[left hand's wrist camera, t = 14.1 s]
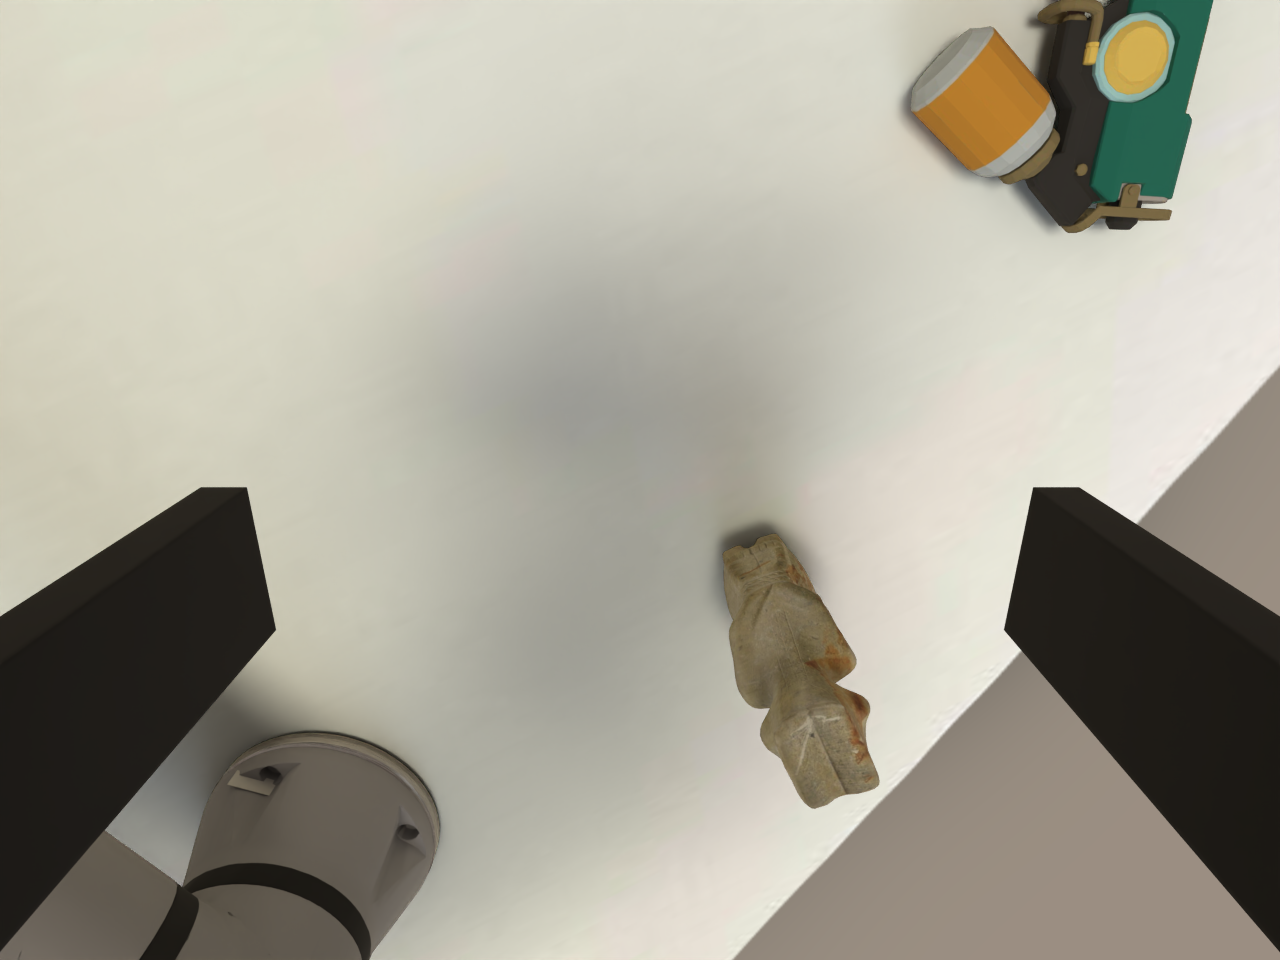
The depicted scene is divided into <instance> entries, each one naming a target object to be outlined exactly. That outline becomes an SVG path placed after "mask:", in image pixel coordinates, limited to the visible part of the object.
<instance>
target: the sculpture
mask: <svg viewBox="0 0 1280 960" xmlns="http://www.w3.org/2000/svg"><path fill="white" fill-rule="evenodd" d="M723 561H724V589H725V595H726V600H727V604H728V608H729V611H730V614H731V616H732V619H733V622H732V624H731V627H730V629H729V640H730V646H731V651H732V656H733V661H734V669H735V678H736V683H737V687H738V690H739V692H740V694H741V695H742V697H743V698H744V700H745V701H746V702H747V703H748V704H749V705H750V706H752V707H754V708H758V709H763V708H770V709H769V712H768V713H767V715H766V717H765V719H764V721H763V723H762V725H761V729H760V736H761V739H762V742H763V743H764V745H765V746H766V748H767V749H768V750H769V751H771V752H772V753H774V754H775V755H777V756H778V757H779V758H781V760H782V762H783V764H784V767H785V769H786V771H787V772H788V774H789V776H790V778H791V780H792V782H793V784H794V786H795V788H796V790H797V792H798V794H799V796H800V797H801V799H802V800H803V801H804V803H805V804H807V805H808V806H809V807H811V808H814V809H815V808H818V807H822V806H825V805H827V804H829V803H830V802H832V801H833V800H834V799H836V798H838V797H840V796H843V795H848V794H858V793H862V792H867V791H870V790H872V789H875V788H876V787H877V786H878V785H879V777H878V773H877V771H876V768H875V766H874V764H873V761H872V759H871V756H870V754H869V752H868V748H867V743H866V721H867V719H868V716H869V713H870V705H869V702H868V701H867V700H866V699H865V698H864V697H863V696H861V695H859V694H857V693H854V692H852V691H849V690H847V689H844V688H842V687H841V686H839V685H837V684H835V683H836V682H838V681H839V680H841V679H842V678H843V677H845V676H846V675H848V674H849V673H850V672H851V671H852V670H853V669H854V668H855V666H856V657H855V655H854V653H853V651H852V650H851V648H850V646H849V645H848V643H847V642H846V640H845V638H844V637H843V635H842V633H841V632H840V630H839V629H838V627H837V626H836V624H835V622H834V620H833V618H832V616H831V615H830V613H829V611H828V610H827V608H826V607H825V605H824V604H823V602H822V600H821V598H820V596H819V595H818V594H816V593H815V590H814V588H813V585H812V583H811V581H810V579H809V577H808V575H807V573H806V572H805V570H804V569H803V567H802V565H801V564H800V563H799V561H798V560H797V558H796V557H795V556H794V555H793V553H792V552H791V551H790V550H789V549H788V548H787V547H786V546H785V544H784V543H783V541H782V540H781V539H780V537H779V536H778V535H777V534H770V535H766V536H763V537H760V538H758V539H757V541H756V543H755V544H754V545H753V546H752V547H749V548H744V547H742V546H740V545H739V546H735V547H733V548H731V549H729V550H727V551H725V552H724V553H723Z"/></svg>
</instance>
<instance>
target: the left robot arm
mask: <svg viewBox="0 0 1280 960" xmlns="http://www.w3.org/2000/svg"><path fill="white" fill-rule="evenodd" d="M275 630H276V628H275V623H274V618H273V613H272V608H271V603H270V598H269V593H268V589H267V584H266V579H265V574H264V569H263V564H262V559H261V554H260V550H259V545H258V540H257V535H256V530H255V525H254V520H253V515H252V511H251V506H250V501H249V496H248V491H247V487H201V488H199V489H198V490H196V491H195V492H193V493H191V494H190V495H188V496H187V497H185V498H184V499H182V500H181V501H179V502H177V503H176V504H174V505H173V506H171V507H170V508H168V509H167V510H165V511H163V512H162V513H160V514H159V515H157V516H156V517H154V518H153V519H151V520H149V521H148V522H146V523H145V524H143V525H142V526H140V527H139V528H137V529H135V530H134V531H132V532H131V533H129V534H128V535H126V536H125V537H123V538H121V539H120V540H118V541H117V542H115V543H114V544H112V545H111V546H109V547H107V548H106V549H104V550H103V551H101V552H100V553H98V554H97V555H95V556H94V557H92V558H90V559H89V560H87V561H86V562H84V563H83V564H81V565H80V566H78V567H76V568H75V569H73V570H72V571H70V572H69V573H67V574H66V575H64V576H62V577H61V578H59V579H58V580H56V581H55V582H53V583H52V584H50V585H48V586H47V587H45V588H44V589H42V590H41V591H39V592H38V593H36V594H34V595H33V596H31V597H30V598H28V599H27V600H25V601H24V602H22V603H20V604H19V605H17V606H16V607H14V608H13V609H11V610H10V611H8V612H6V613H5V614H3V615H2V616H0V960H369V959H370V957H371V954H372V952H373V951H374V950H375V948H376V947H377V946H378V944H379V943H380V942H381V940H382V939H383V938H384V936H385V935H386V934H387V932H388V931H389V930H390V928H391V927H392V926H393V925H394V923H395V922H396V921H397V919H398V918H399V917H400V915H401V914H402V913H403V911H404V910H405V909H406V907H407V906H408V905H409V903H410V902H411V901H412V899H413V898H414V897H415V895H416V894H417V893H418V891H419V890H420V888H421V886H422V884H423V883H424V881H425V879H426V876H427V874H428V873H429V871H430V868H431V865H432V863H433V860H434V856H435V853H436V850H437V846H438V842H439V834H440V828H439V819H438V814H437V811H436V807H435V805H434V802H433V800H432V798H431V796H430V794H429V793H428V791H427V790H426V788H425V787H424V785H423V784H422V782H421V781H420V780H419V779H418V778H417V777H416V775H414V774H413V773H412V772H411V771H410V770H409V769H408V768H407V767H406V766H405V765H404V764H402V763H401V762H400V761H398V760H397V759H395V758H394V757H393V756H391V755H389V754H388V753H386V752H384V751H382V750H380V749H378V748H376V747H374V746H372V745H370V744H367V743H365V742H362V741H359V740H356V739H352V738H349V737H344V736H340V735H334V734H327V733H297V734H289V735H284V736H279V737H276V738H272V739H269V740H267V741H264V742H262V743H260V744H258V745H256V746H254V747H252V748H250V749H249V750H247V751H246V752H244V753H243V754H242V755H241V756H239V757H238V758H237V759H236V760H235V761H234V762H233V763H232V764H231V766H230V767H229V768H228V770H227V771H226V772H225V774H224V775H223V776H222V778H221V779H220V781H219V782H218V783H217V785H216V786H215V788H214V790H213V792H212V794H211V796H210V798H209V800H208V802H207V804H206V806H205V809H204V811H203V815H202V818H201V822H200V826H199V829H198V833H197V836H196V840H195V844H194V847H193V851H192V854H191V858H190V862H189V865H188V869H187V872H186V876H185V880H184V883H183V886H182V887H181V886H180V885H179V884H177V883H176V882H175V881H174V880H173V879H172V878H170V877H169V876H167V875H166V874H165V873H163V872H162V871H160V870H159V869H158V868H156V867H155V866H153V865H152V864H151V863H149V862H148V861H146V860H145V859H144V858H142V857H141V856H139V855H138V854H137V853H135V852H134V851H133V850H131V849H130V848H128V847H127V846H126V845H124V844H123V843H121V842H120V841H119V840H117V839H116V838H114V837H113V836H112V835H110V834H109V833H107V832H106V831H105V829H106V828H107V827H108V825H109V824H110V823H111V822H112V821H113V820H114V818H115V817H116V816H117V815H118V814H119V813H120V811H121V810H122V809H123V808H124V807H125V806H126V804H127V803H128V802H129V801H130V800H131V799H132V797H133V796H134V795H135V794H136V793H137V792H138V790H139V789H140V788H141V787H142V786H143V785H144V783H145V782H146V781H147V780H148V779H149V778H150V776H151V775H152V774H153V773H154V772H155V771H156V769H157V768H158V767H159V766H160V765H161V764H162V762H163V761H164V760H165V759H166V758H167V757H168V755H169V754H170V753H171V752H172V751H173V750H174V748H175V747H176V746H177V745H178V744H179V743H180V741H181V740H182V739H183V738H184V737H185V736H186V734H187V733H188V732H189V731H190V730H191V729H192V727H193V726H194V725H195V724H196V723H197V722H198V720H199V719H200V718H201V717H202V716H203V715H204V713H205V712H206V711H207V710H208V709H209V708H210V706H211V705H212V704H213V703H214V702H215V701H216V699H217V698H218V697H219V696H220V695H221V694H222V692H223V691H224V690H225V689H226V688H227V687H228V685H229V684H230V683H231V682H232V681H233V680H234V678H235V677H236V676H237V675H238V674H239V673H240V671H241V670H242V669H243V668H244V667H245V665H246V664H247V663H248V662H249V661H250V660H251V658H252V657H253V656H254V655H255V654H256V653H257V651H258V650H259V649H260V648H261V647H262V646H263V644H264V643H265V642H266V641H267V640H268V639H269V637H270V636H271V635H272V634H273V633H274V632H275ZM1004 630H1005V632H1006V633H1007V634H1008V635H1009V636H1010V637H1011V639H1012V640H1013V641H1014V642H1015V643H1016V644H1017V646H1018V647H1019V648H1020V649H1021V650H1022V651H1023V653H1024V654H1025V655H1026V656H1027V657H1028V658H1029V660H1030V661H1031V662H1032V663H1033V664H1034V665H1035V667H1036V668H1037V669H1038V670H1039V671H1040V673H1041V674H1042V675H1043V676H1044V677H1045V678H1046V680H1047V681H1048V682H1049V683H1050V684H1051V685H1052V687H1053V688H1054V689H1055V690H1056V691H1057V692H1058V694H1059V695H1060V696H1061V697H1062V698H1063V699H1064V701H1065V702H1066V703H1067V704H1068V705H1069V706H1070V708H1071V709H1072V710H1073V711H1074V712H1075V713H1076V715H1077V716H1078V717H1079V718H1080V719H1081V720H1082V722H1083V723H1084V724H1085V725H1086V726H1087V727H1088V729H1089V730H1090V731H1091V732H1092V733H1093V734H1094V736H1095V737H1096V738H1097V739H1098V740H1099V741H1100V743H1101V744H1102V745H1103V746H1104V747H1105V748H1106V750H1107V751H1108V752H1109V753H1110V754H1111V755H1112V757H1113V758H1114V759H1115V760H1116V761H1117V762H1118V764H1119V765H1120V766H1121V767H1122V768H1123V769H1124V771H1125V772H1126V773H1127V774H1128V775H1129V776H1130V778H1131V779H1132V780H1133V781H1134V782H1135V783H1136V785H1137V786H1138V787H1139V788H1140V789H1141V790H1142V792H1143V793H1144V794H1145V795H1146V796H1147V797H1148V799H1149V800H1150V801H1151V802H1152V803H1153V804H1154V806H1155V807H1156V808H1157V809H1158V810H1159V811H1160V813H1161V814H1162V815H1163V816H1164V817H1165V818H1166V820H1167V821H1168V822H1169V823H1170V824H1171V825H1172V827H1173V828H1174V829H1175V830H1176V831H1177V832H1178V834H1179V835H1180V836H1181V837H1182V838H1183V839H1184V841H1185V842H1186V843H1187V844H1188V845H1189V846H1190V848H1191V849H1192V850H1193V851H1194V852H1195V854H1196V855H1197V856H1198V857H1199V858H1200V859H1201V861H1202V862H1203V863H1204V864H1205V865H1206V866H1207V868H1208V869H1209V870H1210V871H1211V872H1212V873H1213V875H1214V876H1215V877H1216V878H1217V879H1218V880H1219V882H1220V883H1221V884H1222V885H1223V886H1224V887H1225V889H1226V890H1227V891H1228V892H1229V893H1230V894H1231V896H1232V897H1233V898H1234V899H1235V900H1236V901H1237V903H1238V904H1239V905H1240V906H1241V907H1242V908H1243V910H1244V911H1245V912H1246V913H1247V914H1248V915H1249V917H1250V918H1251V919H1252V920H1253V921H1254V922H1255V924H1256V925H1257V926H1258V927H1259V928H1260V929H1261V931H1262V932H1263V933H1264V934H1265V935H1266V936H1267V938H1268V939H1269V940H1270V941H1271V942H1272V943H1273V945H1274V946H1275V947H1276V948H1277V949H1278V950H1279V952H1280V616H1278V615H1277V614H1275V613H1273V612H1272V611H1270V610H1269V609H1267V608H1266V607H1264V606H1263V605H1261V604H1260V603H1258V602H1256V601H1255V600H1253V599H1252V598H1250V597H1249V596H1247V595H1246V594H1244V593H1242V592H1241V591H1239V590H1238V589H1236V588H1235V587H1233V586H1232V585H1230V584H1228V583H1227V582H1225V581H1224V580H1222V579H1221V578H1219V577H1218V576H1216V575H1214V574H1213V573H1211V572H1210V571H1208V570H1207V569H1205V568H1204V567H1202V566H1200V565H1199V564H1197V563H1196V562H1194V561H1193V560H1191V559H1190V558H1188V557H1186V556H1185V555H1183V554H1182V553H1180V552H1179V551H1177V550H1176V549H1174V548H1172V547H1171V546H1169V545H1168V544H1166V543H1165V542H1163V541H1162V540H1160V539H1158V538H1157V537H1155V536H1154V535H1152V534H1151V533H1149V532H1148V531H1146V530H1145V529H1143V528H1141V527H1140V526H1138V525H1137V524H1135V523H1134V522H1132V521H1131V520H1129V519H1127V518H1126V517H1124V516H1123V515H1121V514H1120V513H1118V512H1117V511H1115V510H1113V509H1112V508H1110V507H1109V506H1107V505H1106V504H1104V503H1103V502H1101V501H1099V500H1098V499H1096V498H1095V497H1093V496H1092V495H1090V494H1089V493H1087V492H1085V491H1084V490H1082V489H1081V488H1079V487H1033V491H1032V496H1031V501H1030V506H1029V510H1028V515H1027V520H1026V525H1025V530H1024V535H1023V540H1022V545H1021V550H1020V554H1019V559H1018V564H1017V569H1016V574H1015V579H1014V584H1013V589H1012V593H1011V598H1010V603H1009V608H1008V613H1007V618H1006V623H1005V628H1004Z"/></svg>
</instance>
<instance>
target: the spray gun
mask: <svg viewBox="0 0 1280 960" xmlns="http://www.w3.org/2000/svg"><path fill="white" fill-rule="evenodd" d="M1212 4H1213V0H1116V1H1114V2H1113V3H1111V4H1110V5H1108V6H1106V7H1105V8H1103V6H1102V4H1101V3H1100V2H1098V1H1096V0H1060V1H1057V2H1055V3H1052V4H1050V5H1049V6H1047V7H1046V8H1044V9H1043V10H1042V11H1040V12H1039V14H1038V20H1039V21H1041V22H1043V23H1046V24H1058V27H1057V32H1056V37H1055V42H1054V47H1053V52H1052V58H1051V63H1050V68H1049V73H1048V78H1047V81H1048V84H1049V86H1050V89H1051V91H1052V93H1053V96H1054V98H1055V100H1056V103H1057V105H1058V108H1059V110H1060V115H1059V121H1058V127H1057V131H1056V130H1055V129H1054V128H1053V124H1054V120H1055V116H1056V111H1055V108H1054V105H1053V102H1052V100H1051V97H1050V95H1049V93H1048V92H1047V91H1046V90H1045V88H1044V87H1043V86H1042V85H1041V84H1040V82H1039V81H1038V80H1037V79H1036V78H1035V77H1034V75H1033V74H1032V73H1031V72H1030V71H1029V69H1028V68H1027V67H1026V66H1025V65H1024V63H1023V62H1022V61H1021V60H1020V59H1019V57H1018V56H1017V55H1016V54H1015V53H1014V51H1013V50H1012V49H1011V48H1010V47H1009V45H1008V44H1007V43H1006V42H1005V41H1004V39H1003V38H1002V37H1001V36H1000V35H999V33H998V32H997V31H996V30H995V29H994V28H993V27H990V26H989V27H984V28H973V29H969V30H967V31H966V32H965V33H963V34H962V35H961V36H959V37H958V38H957V39H956V40H955V41H954V42H953V43H951V44H950V45H949V46H948V47H947V48H946V49H945V50H944V51H943V52H942V53H941V54H940V55H939V56H938V57H937V58H936V60H935V61H934V62H933V63H932V64H931V65H930V66H929V67H928V68H927V70H926V71H925V72H924V73H923V75H922V76H921V77H920V78H919V80H918V81H917V83H916V84H915V86H914V88H913V91H912V100H911V110H912V112H913V113H914V114H915V115H916V116H917V117H918V118H919V119H920V120H921V121H922V123H923V124H924V125H925V126H926V127H927V128H928V129H929V130H930V131H931V132H932V133H933V134H934V135H935V136H936V137H937V138H938V139H939V140H940V141H941V142H942V143H943V144H944V145H945V146H946V147H947V148H948V149H949V150H950V151H951V152H952V153H953V154H954V156H955V157H956V158H957V159H958V160H959V161H960V162H961V163H962V164H963V165H964V166H965V167H966V168H967V169H968V170H970V171H972V172H974V173H976V174H977V175H979V176H982V177H994V176H998V177H999V178H1000V179H1001V181H1002V182H1003V183H1005V184H1012V183H1015V182H1018V181H1020V180H1023V179H1025V180H1026V183H1027V185H1028V188H1029V189H1030V190H1031V191H1032V193H1033V194H1034V195H1035V196H1036V198H1037V199H1038V200H1039V201H1040V202H1041V204H1042V205H1043V206H1044V207H1045V209H1046V210H1047V211H1048V212H1049V213H1050V215H1051V216H1052V217H1053V218H1054V220H1055V221H1056V222H1057V223H1058V225H1059V226H1061V227H1062V228H1063V229H1064V230H1065V231H1066V232H1068V233H1077V232H1081V231H1083V230H1085V229H1086V228H1088V227H1090V226H1091V225H1092V224H1093V223H1094V222H1095V221H1096V220H1097V219H1098V218H1105V219H1106V221H1105V222H1106V224H1107V226H1108V228H1109V229H1118V230H1130V229H1131V228H1132V227H1133V226H1134V225H1135V224H1136V223H1137V221H1138V220H1140V221H1159V220H1170V216H1171V213H1172V211H1171V210H1167V209H1149V208H1141V205H1142V204H1158V203H1166V202H1167V200H1168V199H1171V198H1172V196H1173V193H1174V189H1175V185H1176V181H1177V177H1178V173H1179V170H1180V166H1181V162H1182V158H1183V154H1184V150H1185V146H1186V143H1187V139H1188V135H1189V131H1190V127H1191V123H1192V119H1191V117H1190V115H1189V114H1186V110H1187V106H1188V102H1189V98H1190V94H1191V90H1192V86H1193V82H1194V78H1195V74H1196V70H1197V66H1198V62H1199V58H1200V54H1201V50H1202V46H1203V42H1204V38H1205V34H1206V30H1207V26H1208V22H1209V16H1210V12H1211V8H1212ZM1066 11H1067V12H1066ZM1085 12H1087V13H1090V14H1091V16H1090V17H1089V18H1087V17H1086V16H1085V15H1084V14H1085ZM1093 203H1097V206H1096V209H1094V208H1088V207H1089V206H1090V205H1091V204H1093Z"/></svg>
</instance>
